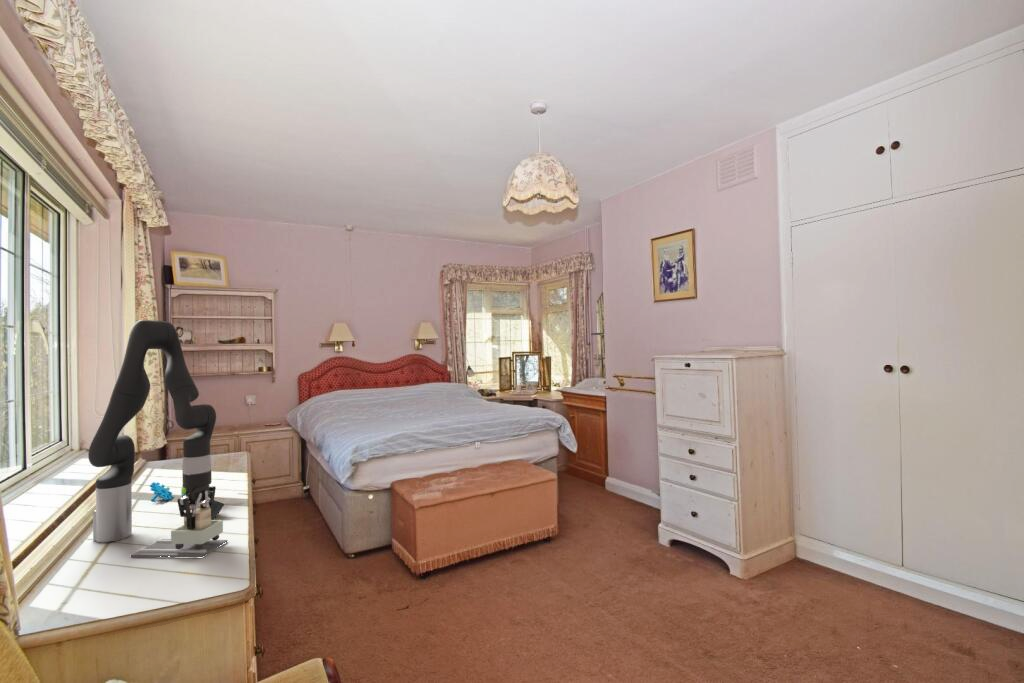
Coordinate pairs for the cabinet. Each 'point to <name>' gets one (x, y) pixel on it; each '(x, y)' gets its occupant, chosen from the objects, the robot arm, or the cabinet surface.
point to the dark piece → (215, 509)
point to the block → (200, 519)
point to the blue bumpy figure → (160, 491)
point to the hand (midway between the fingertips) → (197, 525)
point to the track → (168, 549)
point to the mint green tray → (196, 535)
